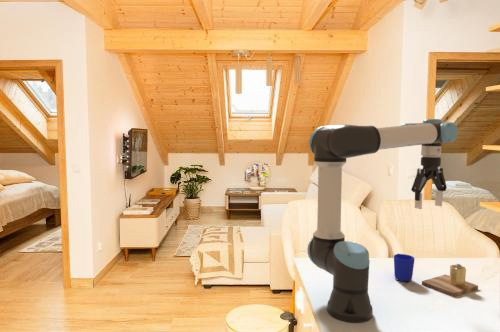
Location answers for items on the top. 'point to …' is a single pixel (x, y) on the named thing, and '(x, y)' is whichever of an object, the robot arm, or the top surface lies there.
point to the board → (448, 286)
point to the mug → (403, 267)
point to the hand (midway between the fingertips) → (428, 207)
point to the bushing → (457, 276)
